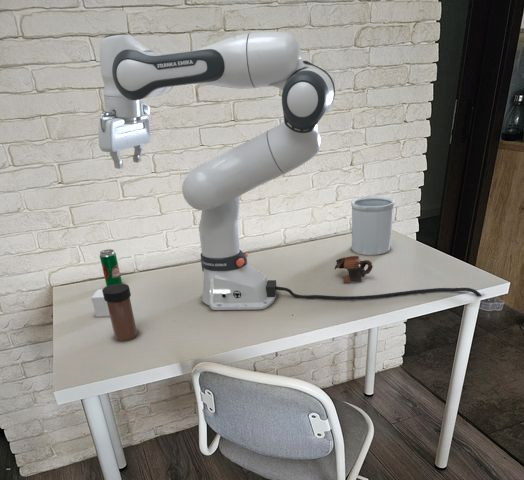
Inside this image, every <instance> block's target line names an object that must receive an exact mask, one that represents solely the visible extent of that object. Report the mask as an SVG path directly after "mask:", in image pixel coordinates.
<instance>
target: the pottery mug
mask: <svg viewBox="0 0 524 480" xmlns="http://www.w3.org/2000/svg"><path fill="white" fill-rule="evenodd" d="M335 262H336V264H335V266H334V270H337V269H340V270H341V269H342V270H343V269H344V270H346V271H347V273H348V274H346V275H343V276H342V281H343V283H344V284H346V283H352V282H353V283H356V282H362V278H365V276H366V275H369V273H370V272H371V271H372V270H373V267H374V266H373V263H372V261H371V260H369V259H365V260H361V259H360V256H359V255H351V256H343V257H340V258H338V259H336V261H335ZM366 266H367V268H366ZM365 268H366V269H365Z"/></svg>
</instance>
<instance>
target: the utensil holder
mask: <svg viewBox="0 0 524 480" xmlns="http://www.w3.org/2000/svg"><path fill="white" fill-rule="evenodd" d="M395 203H396V201H395V199H393V198H391V197H387V196H379V195H378V196H376V195H375V196H373V195H372V196H362V197H358V198H355V199H352V200H351V203H350V206H351V250H352V252H354V253H355V254H359V255H363V256H378V255H383V254H386V253H388V252H389V251H390V248H391V240H392V230H393V218H394V208H395V205H396V204H395Z"/></svg>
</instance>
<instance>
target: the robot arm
mask: <svg viewBox="0 0 524 480" xmlns="http://www.w3.org/2000/svg"><path fill="white" fill-rule="evenodd" d="M300 45H301V44H300V43H299V40H298V39H297V38H296V36H295V35H294V34H293V33H291V32H288V31H287V32H286V31H278V30H277V31H276V30H275V31H273V30H269V31H268V30H267V31H263V30H262V31H252V32H247V33H241V34H237V35H233V36H231V37H227V38H225V39H221V40H219V41H217V42H214V43H212V44H209V45H206V46H204V47H203V46H202V47H200V48H196V49H194V50H190V51H184V52H177V53H176V52H175V53H169V54H168V53H167V54H162V53H161V52H157V51H155V50H153V49H151V48H148V47H147V46H145V45H144V44H142V43H140V42H139V41H138V40H136V39H135V37H133V36H132V35H131V34H129V33H125V32H123V33H122V32H121V33H111V34H107V35H105V36H103V37H102V38H101V40H100V43H99V64H100V67H99V68H100V74H101V78H102V81H103V102H104V111H102V112H101V115H100V117H99V121H98V125H97V126H98V127H97V129H98V130H97V131H98V133H97V135H98V146H99V149H100V151H102V152H103V153H109V155H110V157H111V160H112V161H113V165H114V168H115V169H118V170H120V169H123V168H124V161H123V160H122V159H121V157H120V155H121V151H123V150H126V149H130V148H133V149H134V152H133V155H132V161H133V163H136V164H137V163H142V154H143V149H144V147H143V146H144V145H145V144H149V143H150V141H151V137H152V136H151V134H152V133H151V121H150V120H151V119H150V116H149V115H151V107H150V106H149V105H148V104H146V103H144V102H143V101H142V100H144V99H147V98H154V97H160V96H161V97H162V96H163V95H166V94H168V93H169V92H170V91H171V90H172V89H173V87H178V86H179V87H180V86H185V85H206V86H214V87H219V88H220V87H221V88H226V89H237V90H238V89H239V90H249V89H250V90H251V89H260V88H268V87H272V88H277V89H279V90H281V91H282V92H281V106H282V114H283V122H281V123H280V124H278V125H276V126H274V127H272V128H270V129H267V130H266V131H264V132H262V133H260V134H258V135H256V136H254V137H252V138H250V139H248V140H247V141H245V142H242V143H241V144H239V145H237V146H235V147H233V148H231V149H229V150H227V151H225V152H223V153H221V154H218V155H217V156H215V157H213V158H211V159H209V160H207V161H205V162H202V163H201V164H199V165H197V166H195V167H193V168H192V169H191V170H190V171H189V173H188V174H186V177H185V178H184V180H183V182H182V188H181V192H182V196H183V198H184V200H185V202H186V203H187V205H189V206H190V207H191V208H192V209H195V210H196V211H201V213H200V214H201V216H200V220H199V223H198V233H199V241H200V242H199V243H200V251H201V253H200V266H201V269H202V270H201V271H202V272H203V273H202V274H203V287H202V295H201V301H202V302H203V303H204V304H205V305H207V306H209V308H210V309H211V310H212V311H250V310H251V311H252V310H253V311H254V310H255V311H256V310H264V309H266V308H268V307H269V306H271V305H272V304H273V303H274V302H275V300H276V299H277V291H284V292H287V293H289V294H290V296H291V297H294V298H297V299H306V300H307V299H308V300H309V299H322V300H338V301H339V300H341V301H342V300H345V301H347V300H348V301H349V300H350V301H351V300H354V301H355V300H370V299H371V300H372V299H380V298H382V299H383V298H390V297H396V296H397V297H398V296H405V295H413V294H425V293H434V292H469V293H473V294H475V295H476V296H477V297H482V294H481V293H480V292H479V291H478V290H476V289H474V288H471V287H433V288H423V289H412V290H404V291H396V292H388V293H381V294H369V295H355V296H354V295H350V296H345V295H342V296H341V295H322V294H308V295H307V294H306V295H305V294H304V295H303V294H297V293H294V292H293V290H291V289H290V288H288V287H284V286H278V285H277V280H276V279H268V278H267V277H266V275H265V274H264V273H263V272H261V271H260V270H259V269H256V268H255V267H254V266H252V265H251V264H249V263H248V257H249V252H246V253H244V251H242V250H241V248H240V247H241V246H240V233H239V212H240V199H241V196H242V195H244V194H246V193H249V192H250V191H252V190H254V189H256V188H258V187H260V186H262V185H264V184H266V183H268V182H270V181H273V180H275V179H277V178H279V177H281V176H283V175H286V174H288V173H290V172H292V171H294V170H295V169H297V168H299V167H301V166H302V165H305V163H307V162H309V161H310V160H312V159H313V158H314V157H315V156H317V155H318V154H319V151H320V148H321V135H320V131H319V129H318V123H319V122H320V120H322V118H323V117H324V116H325V115H326V114H327V113H328V111H329V110H330V108H331V106H332V104H333V103H334V100H335V95H336V87H335V83H334V80H333V78H332V76H331V75H330V74H329V73H328V72H327V71H326V70H324V69H323V68H321V67H319V66H317V65H315V64H314V63H311V62H310V61H308V60H303V55H302V48H301V46H300Z"/></svg>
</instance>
